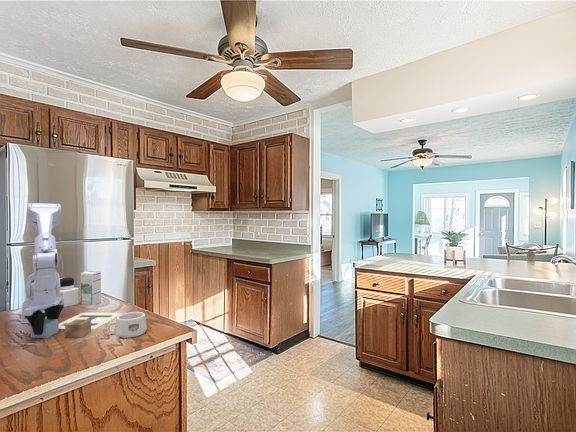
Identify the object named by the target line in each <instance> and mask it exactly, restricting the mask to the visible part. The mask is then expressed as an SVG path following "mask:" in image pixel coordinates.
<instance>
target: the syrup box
mask: <svg viewBox="0 0 576 432" xmlns="http://www.w3.org/2000/svg"><path fill="white" fill-rule="evenodd" d="M101 303H102V271H100V270H87V271H83V272H81V273H80V305H81V306H95V305H98V304H101Z"/></svg>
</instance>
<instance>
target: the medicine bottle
mask: <svg viewBox="0 0 576 432" xmlns="http://www.w3.org/2000/svg"><path fill="white" fill-rule="evenodd" d="M57 297H64V303H60V304H59V305H64V308H63V309H65V308H67V307H69V306H75V305H79V301H80V300H79V299H80V288H79V287H75V278H74V277H70V276H69V277H67V276H66V277H61V278H60V292H59V294H56V298H57Z"/></svg>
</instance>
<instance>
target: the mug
mask: <svg viewBox="0 0 576 432" xmlns="http://www.w3.org/2000/svg"><path fill="white" fill-rule="evenodd" d="M115 319H116V320H115V321H110V322H109V323H108V324H107V326H106V332H107V333H108V334H110V335H115V336H118V338H120V339H129V338H135V337H138V336H141V335H144V334H145V333H146V331H147V327H148V326H147V319H146V314H145V313H144V312H141V311H130V312H124V313H122V314H120V315H118V316H116V317H115ZM112 325H114V326H115V327H114V331H111V330H110V328H111V326H112Z"/></svg>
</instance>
